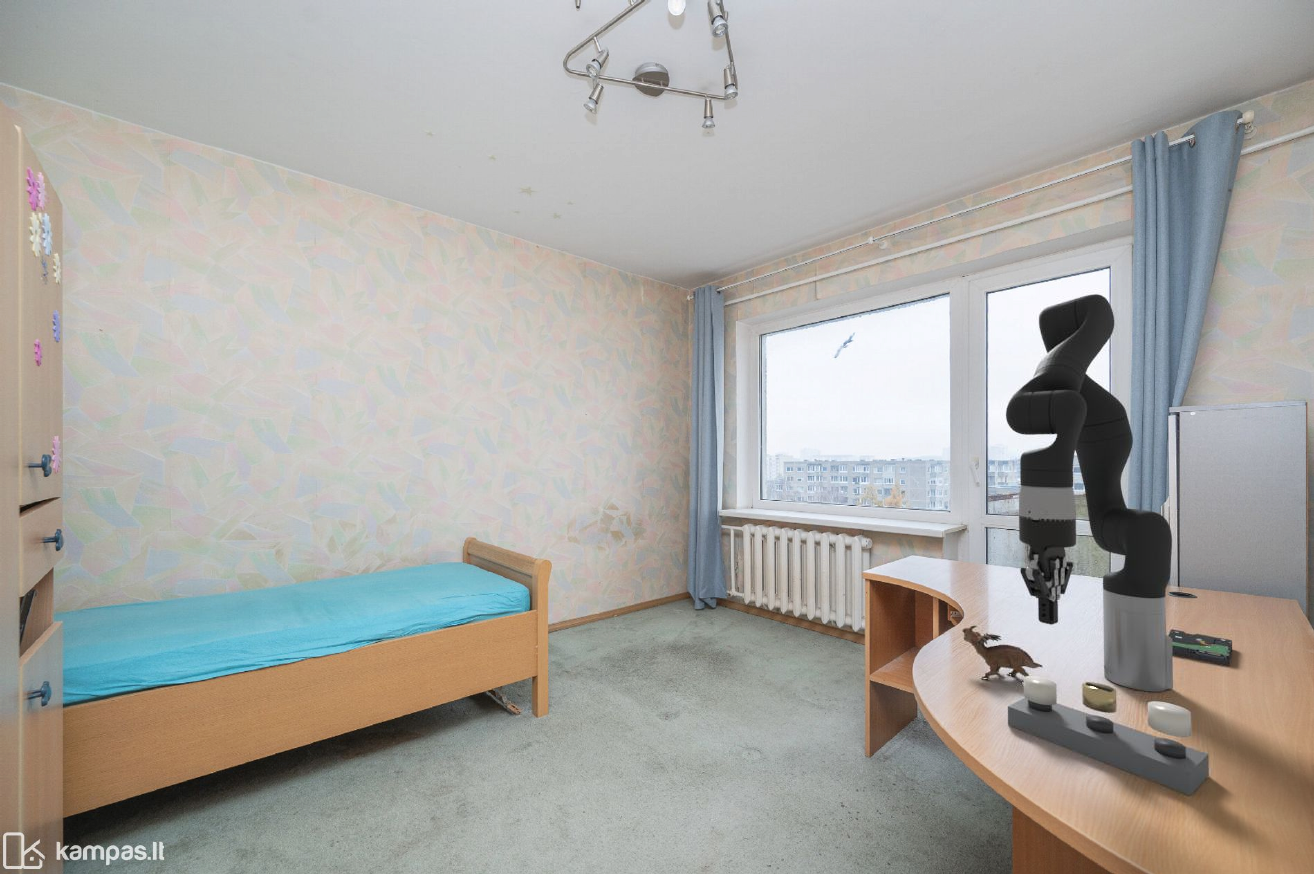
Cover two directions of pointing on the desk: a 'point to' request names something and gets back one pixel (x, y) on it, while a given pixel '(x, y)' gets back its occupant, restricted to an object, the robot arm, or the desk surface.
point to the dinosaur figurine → (999, 654)
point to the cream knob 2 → (1169, 719)
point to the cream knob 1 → (1040, 690)
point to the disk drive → (1201, 647)
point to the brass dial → (1099, 697)
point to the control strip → (1114, 744)
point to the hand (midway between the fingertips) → (1048, 622)
